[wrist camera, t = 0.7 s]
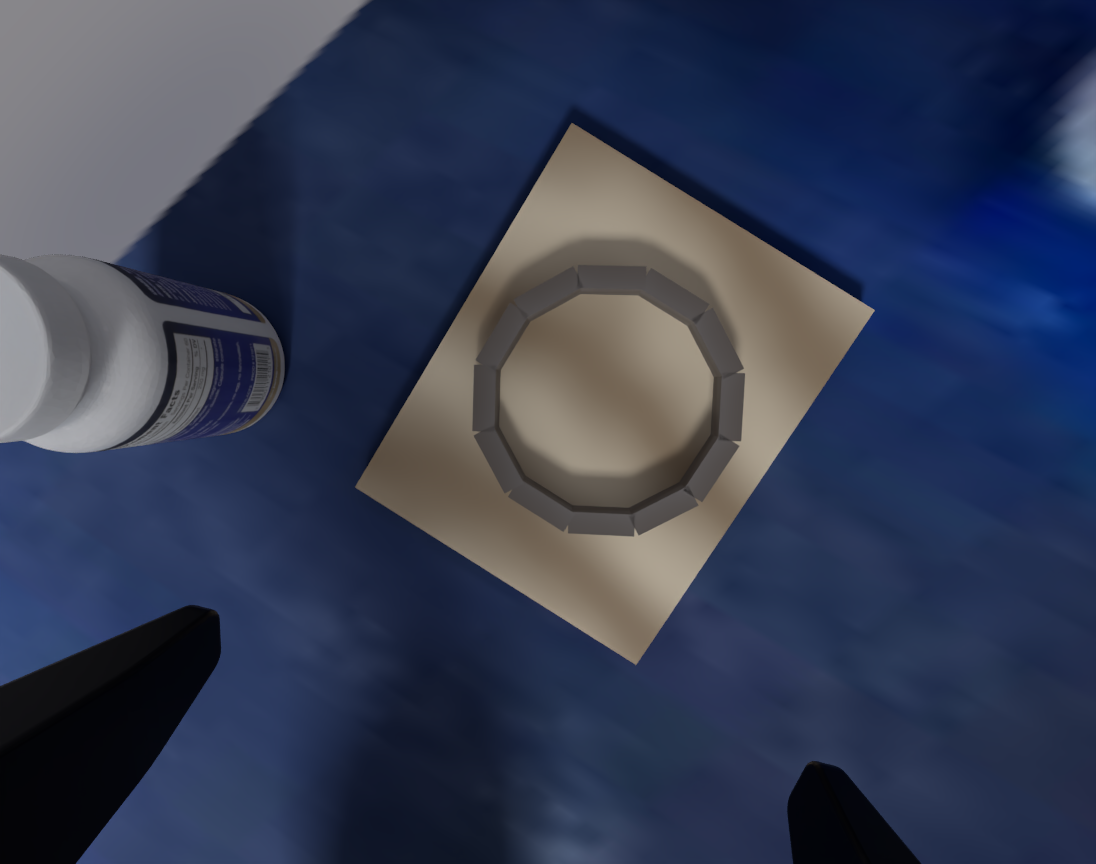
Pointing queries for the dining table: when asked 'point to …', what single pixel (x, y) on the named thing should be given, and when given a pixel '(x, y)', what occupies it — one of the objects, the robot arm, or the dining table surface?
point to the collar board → (610, 394)
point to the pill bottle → (126, 357)
